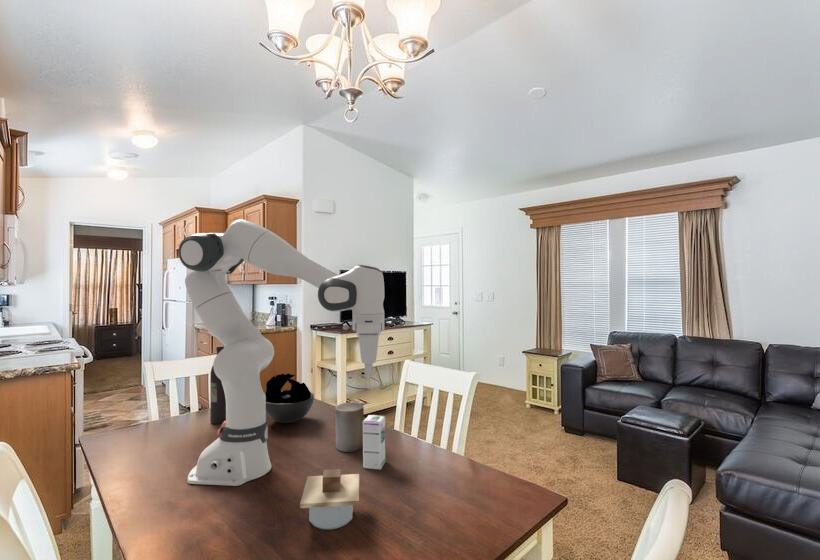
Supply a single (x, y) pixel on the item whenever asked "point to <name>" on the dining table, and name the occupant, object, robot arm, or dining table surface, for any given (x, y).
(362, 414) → the pillar candle
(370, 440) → the syrup box
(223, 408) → the wine bottle
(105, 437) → the dining table surface
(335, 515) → the bowl
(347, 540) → the dining table surface
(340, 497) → the lid
